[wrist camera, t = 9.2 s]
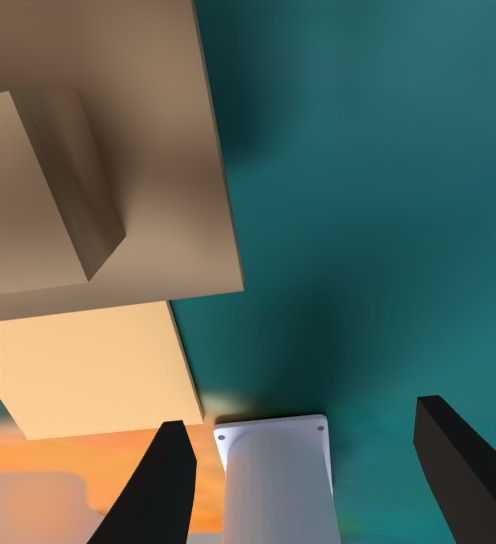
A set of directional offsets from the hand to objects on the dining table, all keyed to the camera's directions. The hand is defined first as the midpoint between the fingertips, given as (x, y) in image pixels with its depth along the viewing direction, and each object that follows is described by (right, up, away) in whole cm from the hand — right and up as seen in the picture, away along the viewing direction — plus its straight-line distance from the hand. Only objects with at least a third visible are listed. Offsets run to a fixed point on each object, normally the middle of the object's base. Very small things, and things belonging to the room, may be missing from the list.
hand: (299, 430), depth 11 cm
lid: (-8, +9, +2) cm, 12 cm away
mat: (-12, 0, +12) cm, 17 cm away
